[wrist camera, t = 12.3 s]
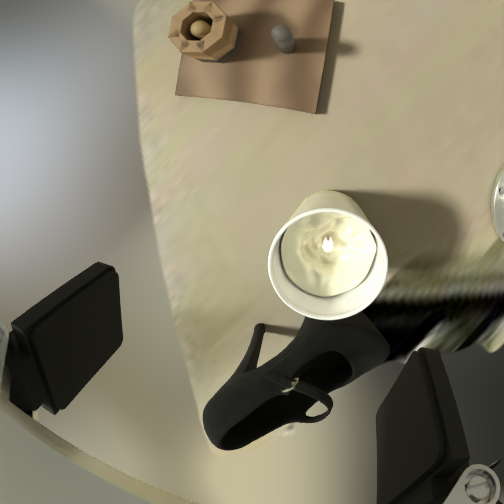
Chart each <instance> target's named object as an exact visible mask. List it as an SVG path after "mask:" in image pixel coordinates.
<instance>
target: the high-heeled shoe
mask: <svg viewBox="0 0 504 504" xmlns="http://www.w3.org/2000/svg"><path fill="white" fill-rule="evenodd" d="M264 333H265V328H264V325H263V324H260V323H259V324H257V325H256V326H255V328H254V333H253V337H252V340H251V343H250V345H249V348H248V350H247V352H246V354H245V356H244V358H243V360H242V361H241V363H240V365H239V366H238V368H237V369H236V371H235V373H234V374H233V375H232V376H231V378H230V379H229V380H228V381H227V382H226V383H225V384H224V385H223V386H222V387H221V388H220V389H219V390H218V391H217V393H216V394H215V395H214V396H213V397H212V398H211V399H210V400H209V402H208V403H207V404H206V406H205V408H204V410H203V424H204V429H205V431H206V434H207V436H208V438H209V439H210V441H211V442H212V443H213V444H214V445H215V446H216V447H217V448H219V449H222V450H235V449H239V448H242V447H244V446H246V445H248V444H249V443H251V442H253V441H255V440H257V439H259V438H260V437H262V436H264V435H266V434H268V433H270V432H271V431H273V430H275V429H277V428H279V427H281V426H283V425H285V424H289V423H293V422H300V423H315V422H318V421H321V420H323V419H324V418H326V416H328V415H329V414H330V412H331V409H332V407H333V401H332V398H331V397H330V396H329V395H328V393H330V392H331V391H333V390H336V389H338V388H340V387H343V386H345V385H347V384H349V383H351V382H352V381H354V380H355V379H357V378H358V377H360V376H361V375H362V374H364V373H366V372H368V371H370V370H372V369H373V368H375V367H377V366H379V365H380V364H381V363H383V362H384V361H385V360H386V359H387V357H388V355H389V352H390V346H389V344H388V343H387V341H386V340H385V338H384V337H383V335H382V334H381V333H380V332H379V331H378V329H377V328H376V327H375V326H374V325H373V323H372V322H371V321H370V320H369V318H368V317H367V315H365V314H364V313H363V312H362V311H360V312H358V313H357V314H354V315H352V316H349V317H346V318H343V319H337V320H319V319H314V318H310V317H307V316H305V319H304V322H303V324H302V326H301V328H300V330H299V332H298V334H297V336H296V337H295V338H294V339H293V341H292V342H291V343H290V344H289V345H288V346H287V347H286V348H285V349H284V350H283V351H282V352H280V353H279V354H278V355H277V356H275V357H274V358H272V359H271V360H269V361H268V362H266V363H265V364H263V365H262V366H260V367H258V368H256V367H257V362H258V358H259V354H260V349H261V345H262V340H263V335H264ZM317 401H320V402H321V403H323V404H324V405H325V406H326V407H327V408H328V411H326V412H325V413H323V414H321V415H318V416H315V417H309V416H306V411H307V410H308V409H309V408H310V407H311V406H313V405H314V404H315V403H316V402H317Z"/></svg>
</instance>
